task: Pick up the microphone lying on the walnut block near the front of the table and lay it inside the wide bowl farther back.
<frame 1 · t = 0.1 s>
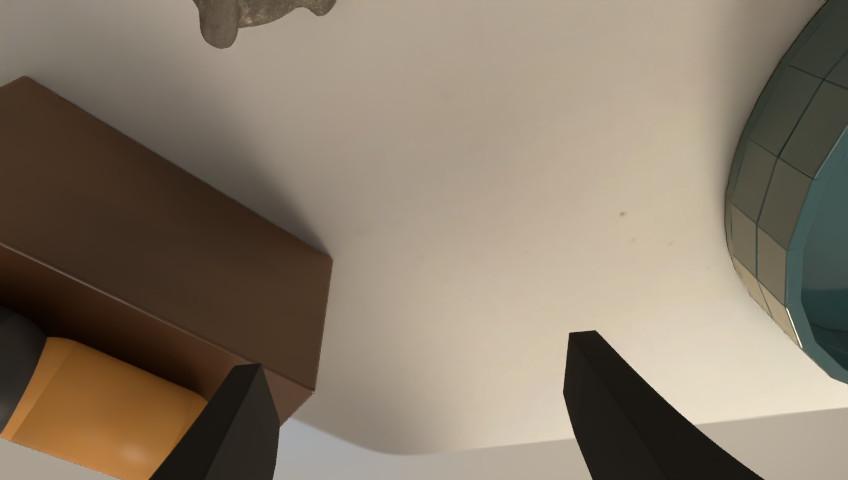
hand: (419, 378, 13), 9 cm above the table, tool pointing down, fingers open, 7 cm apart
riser: (166, 224, 20), on the table
microphone: (114, 370, 15), point 7 cm above the table, touching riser
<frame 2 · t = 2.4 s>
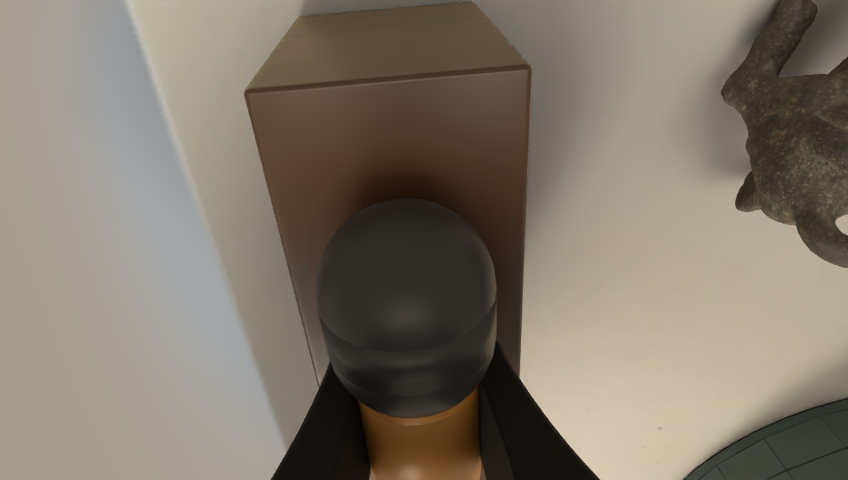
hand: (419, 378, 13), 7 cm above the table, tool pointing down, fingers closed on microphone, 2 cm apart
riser: (404, 196, 18), on the table
microphone: (417, 368, 13), point 7 cm above the table, touching gripper, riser
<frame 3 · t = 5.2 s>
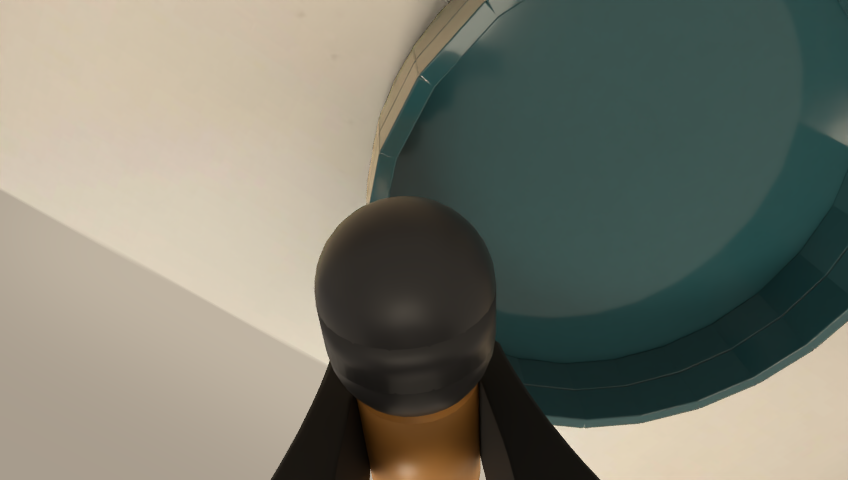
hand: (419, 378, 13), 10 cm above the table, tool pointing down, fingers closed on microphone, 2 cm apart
microphone: (416, 367, 13), point 10 cm above the table, touching gripper
bowl: (613, 187, 22), on the table
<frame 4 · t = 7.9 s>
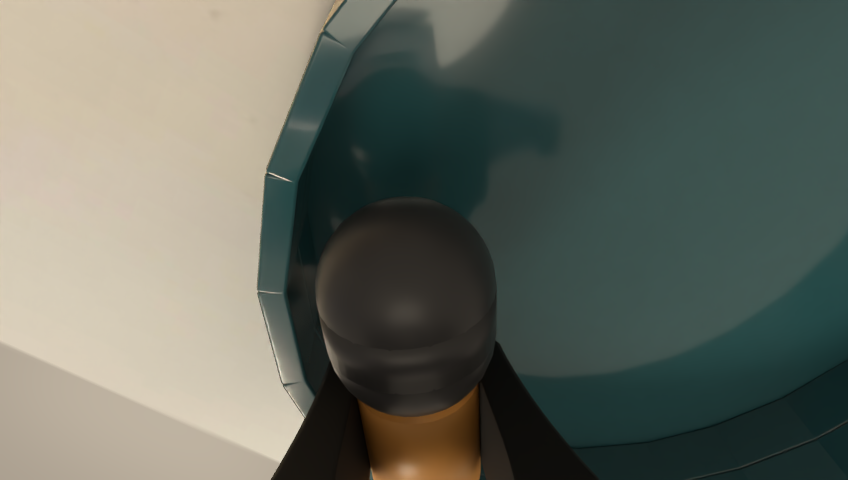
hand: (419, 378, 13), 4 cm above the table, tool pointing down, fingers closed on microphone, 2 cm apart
microphone: (417, 367, 13), point 3 cm above the table, touching gripper
bowl: (654, 215, 15), on the table
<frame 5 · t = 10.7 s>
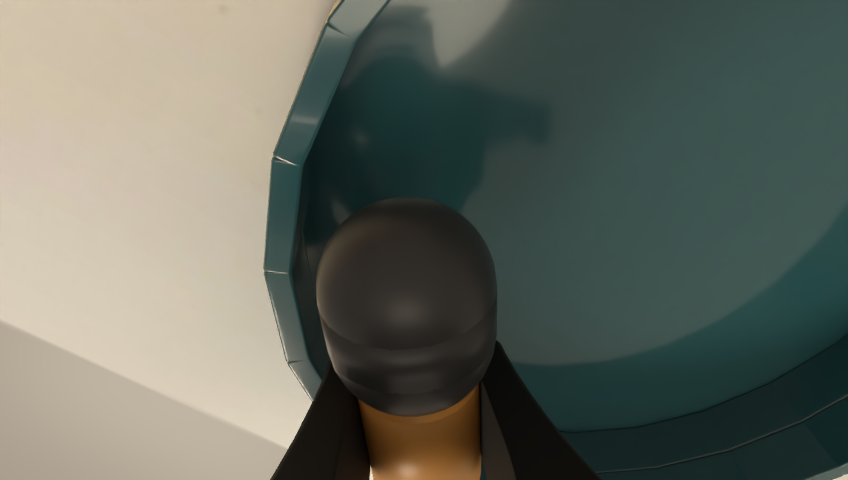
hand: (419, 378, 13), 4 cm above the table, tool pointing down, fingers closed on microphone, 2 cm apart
microphone: (417, 367, 13), point 4 cm above the table, touching gripper
bowl: (644, 203, 16), on the table
when the fingers open (5 cm above the table, at t = 13.3 s): microphone drops 4 cm, resting on bowl.
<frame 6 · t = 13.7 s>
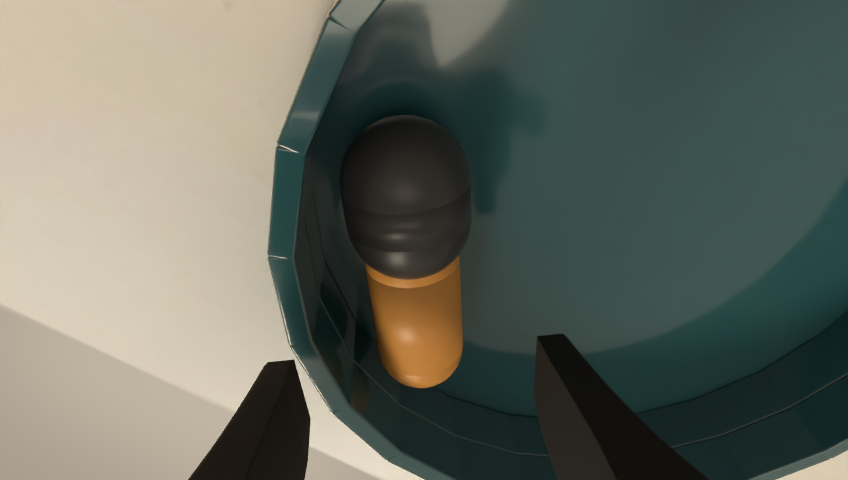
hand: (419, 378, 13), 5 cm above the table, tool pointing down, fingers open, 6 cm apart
microphone: (410, 267, 16), point 1 cm above the table, touching bowl
bowl: (635, 194, 16), on the table
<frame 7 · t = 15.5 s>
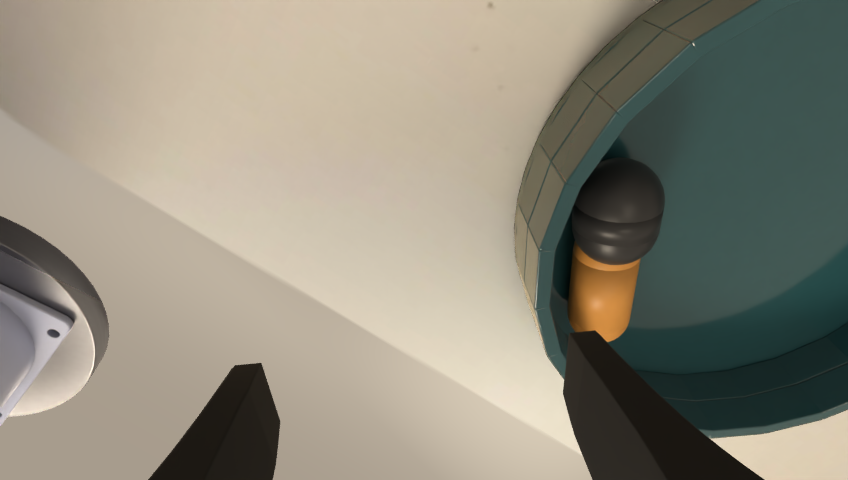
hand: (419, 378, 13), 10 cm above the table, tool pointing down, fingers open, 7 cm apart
microphone: (587, 259, 23), point 1 cm above the table, tilted 12°, touching bowl
bowl: (747, 207, 23), on the table
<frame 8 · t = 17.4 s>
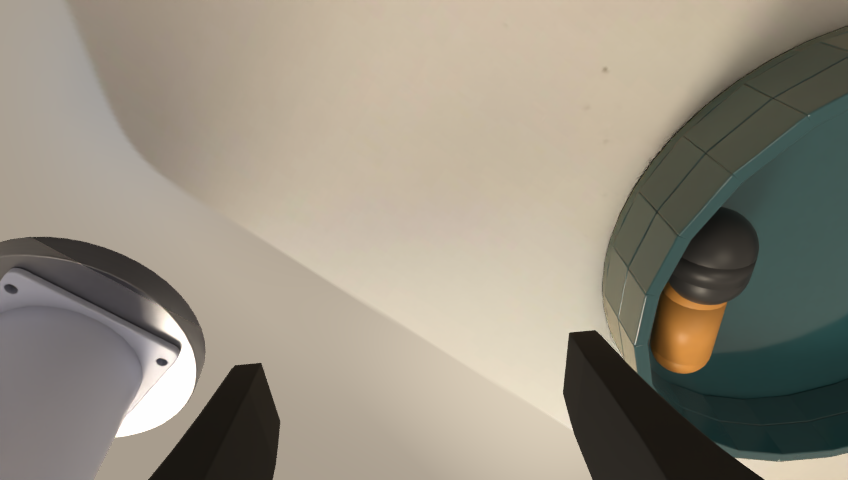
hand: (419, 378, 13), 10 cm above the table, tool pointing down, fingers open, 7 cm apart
microphone: (670, 294, 25), point 1 cm above the table, tilted 12°, touching bowl
bowl: (820, 246, 25), on the table
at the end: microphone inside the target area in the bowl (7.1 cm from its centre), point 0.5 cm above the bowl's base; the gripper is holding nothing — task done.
